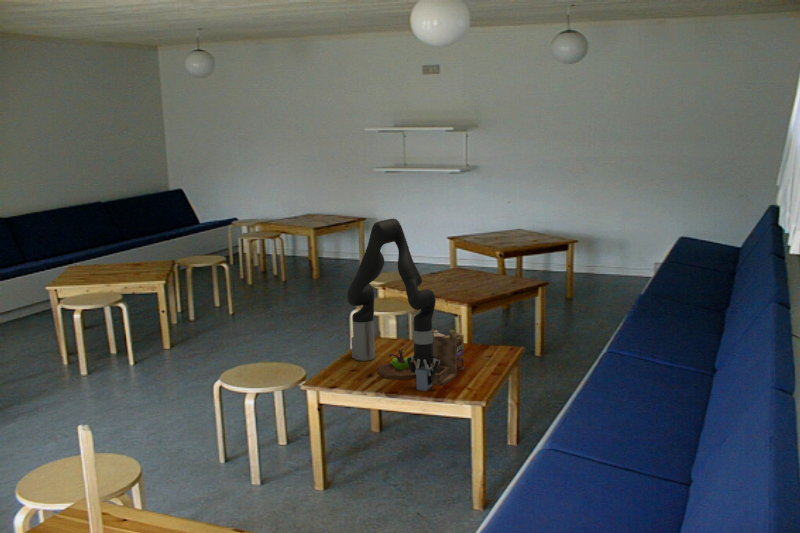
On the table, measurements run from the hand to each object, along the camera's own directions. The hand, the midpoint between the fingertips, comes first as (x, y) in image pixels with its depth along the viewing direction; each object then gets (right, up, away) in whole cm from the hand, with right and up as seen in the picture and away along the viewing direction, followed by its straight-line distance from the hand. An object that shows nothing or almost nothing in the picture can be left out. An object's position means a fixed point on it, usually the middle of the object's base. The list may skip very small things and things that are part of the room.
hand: (424, 383), depth 293 cm
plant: (-9, +1, +21) cm, 23 cm away
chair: (+5, 0, +11) cm, 13 cm away
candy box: (+13, +2, +22) cm, 26 cm away
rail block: (0, -2, 0) cm, 2 cm away
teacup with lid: (+7, +5, +43) cm, 44 cm away
